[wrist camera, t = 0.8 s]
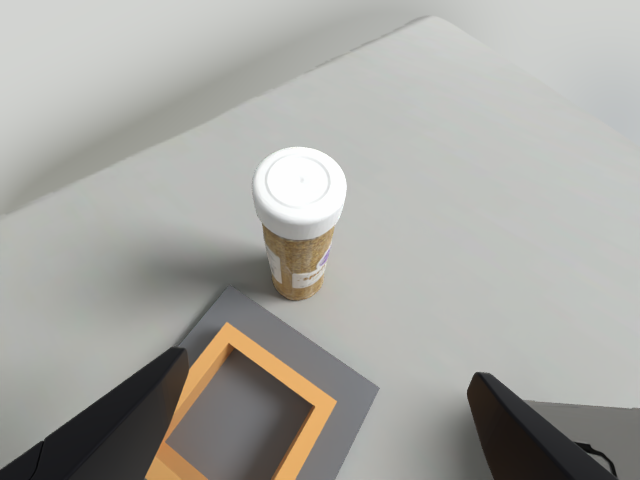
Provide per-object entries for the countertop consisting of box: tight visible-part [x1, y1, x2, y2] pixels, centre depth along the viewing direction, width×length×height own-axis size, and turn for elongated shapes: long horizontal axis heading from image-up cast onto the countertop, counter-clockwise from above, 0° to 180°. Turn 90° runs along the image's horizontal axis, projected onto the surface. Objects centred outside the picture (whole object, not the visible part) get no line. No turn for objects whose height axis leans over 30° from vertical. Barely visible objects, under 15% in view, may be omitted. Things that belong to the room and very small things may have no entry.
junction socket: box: [144, 285, 379, 480], centre depth 19 cm, size 14×14×3 cm
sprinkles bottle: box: [252, 147, 346, 300], centre depth 20 cm, size 5×5×13 cm
